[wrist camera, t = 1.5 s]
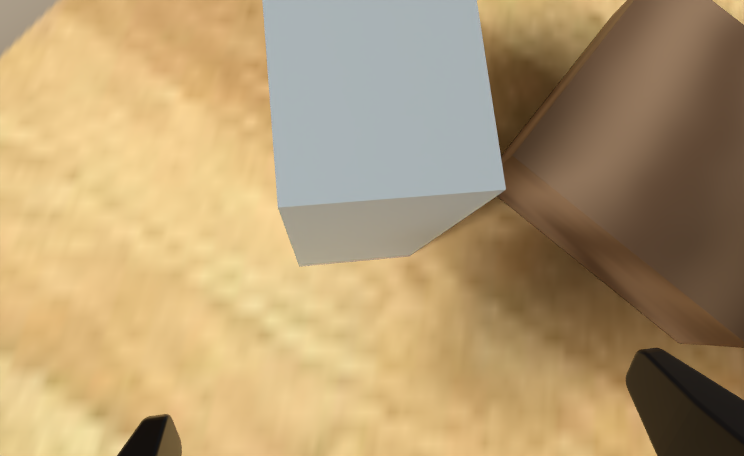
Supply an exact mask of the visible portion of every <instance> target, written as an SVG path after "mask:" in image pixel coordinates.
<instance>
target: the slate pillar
mask: <svg viewBox="0 0 744 456" xmlns="http://www.w3.org/2000/svg"><path fill="white" fill-rule="evenodd" d="M263 13H264V26H265V40H266V53H267V67H268V80H269V93H270V107H271V120H272V134H273V147H274V161H275V174H276V187H277V201H278V209H279V212H280V214H281V217H282V220H283V223H284V226H285V228H286V231H287V234H288V237H289V239H290V242H291V245H292V248H293V250H294V253H295V256H296V259H297V261H298V264H299V266H310V265H320V264H331V263H342V262H353V261H363V260H374V259H385V258H395V257H406V256H410V255H412V254H413V253H414V252H416V251H417V250H419V249H420V248H422V247H423V246H425V245H426V244H428V243H429V242H430V241H432V240H433V239H435V238H436V237H438V236H439V235H441V234H442V233H444V232H445V231H447V230H448V229H449V228H451V227H452V226H454V225H455V224H457V223H458V222H460V221H461V220H463V219H464V218H465V217H467V216H468V215H470V214H471V213H473V212H474V211H476V210H477V209H479V208H480V207H482V206H483V205H484V204H486V203H487V202H489V201H490V200H492V199H493V198H495V197H496V196H498V195H499V194H500V193H502V192H503V191H505V190H506V186H505V180H504V174H503V167H502V161H501V154H500V148H499V141H498V135H497V128H496V122H495V115H494V109H493V103H492V96H491V90H490V83H489V77H488V70H487V64H486V57H485V51H484V44H483V38H482V32H481V25H480V19H479V12H478V6H477V0H263Z"/></svg>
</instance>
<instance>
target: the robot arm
mask: <svg viewBox="0 0 744 456" xmlns="http://www.w3.org/2000/svg"><path fill="white" fill-rule="evenodd" d="M626 385H627V388H628V391H629V393H630V395H631V398H632V400H633V402H634V404H635V407H636V409H637V411H638V413H639V416H640V418H641V420H642V422H643V425H644V427H645V429H646V431H647V434H648V436H649V438H650V440H651V443H652V445H653V447H654V449H655V451H656V454H657V456H744V400H743V399H741V398H739V397H738V396H736V395H735V394H733V393H731V392H730V391H728V390H727V389H725V388H723V387H722V386H720V385H719V384H717V383H715V382H714V381H712V380H711V379H709V378H707V377H706V376H704V375H703V374H701V373H699V372H698V371H696V370H695V369H693V368H691V367H690V366H688V365H687V364H685V363H683V362H682V361H680V360H679V359H677V358H675V357H674V356H672V355H671V354H669V353H667V352H666V351H664V350H662V349H659V348H650V349H643V350H639V351H638V352H637V353H636V354H635V356H634V358H633V361H632V363H631V365H630V368H629V370H628V372H627V375H626ZM181 454H182V447H181V440H180V437H179V435H178V432H177V430H176V427H175V425H174V422H173V420H172V418H171V416H170V415H168V414H163V415H156V416H149V417H146V418H145V419H144V420H143V421H142V422H141V423H140V424H139V426H138V427H137V429H136V430H135V431H134V433H133V434H132V436H131V437H130V438H129V440H128V441H127V443H126V444H125V445H124V447H123V448H122V450H121V451H120V452H119V454H118V455H117V456H181Z"/></svg>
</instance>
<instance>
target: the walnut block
mask: <svg viewBox="0 0 744 456" xmlns="http://www.w3.org/2000/svg"><path fill="white" fill-rule="evenodd" d="M501 161H502V167H503V174H504V180H505V186H506V190H505V191H503V192H502V193H500V194H499V195H498V197H499V198H500V199H501V200H503V201H504V202H505V203H506V204H508V205H509V206H510V207H511V208H512V209H514V210H515V211H516V212H517V213H519V214H520V215H521V216H522V217H524V218H525V219H526V220H527V221H529V222H530V223H531V224H532V225H534V226H535V227H536V228H537V229H538V230H540V231H541V232H542V233H543V234H545V235H546V236H547V237H548V238H550V239H551V240H552V241H553V242H555V243H556V244H557V245H558V246H559V247H561V248H562V249H563V250H564V251H566V252H567V253H568V254H569V255H571V256H572V257H573V258H574V259H576V260H577V261H578V262H579V263H581V264H582V265H583V266H584V267H585V268H587V269H588V270H589V271H590V272H592V273H593V274H594V275H595V276H597V277H598V278H599V279H600V280H602V281H603V282H604V283H605V284H606V285H608V286H609V287H610V288H611V289H613V290H614V291H615V292H616V293H618V294H619V295H620V296H621V297H623V298H624V299H625V300H626V301H628V302H629V303H630V304H631V305H632V306H634V307H635V308H636V309H637V310H639V311H640V312H641V313H642V314H644V315H645V316H646V317H647V318H649V319H650V320H651V321H652V322H653V323H655V324H656V325H657V326H658V327H660V328H661V329H662V330H663V331H665V332H666V333H667V334H668V335H670V336H671V337H672V338H673V339H675V340H676V341H677V342H678V343H685V344H700V345H714V346H729V347H744V25H743V24H742V23H740V22H739V21H738V20H737V19H735V18H734V17H733V16H731V15H730V14H729V13H728V12H726V11H725V10H724V9H722V8H721V7H720V6H719V5H717V4H716V3H715V2H713V1H712V0H627V1H626V2H625V3H624V4H623V5H622V6H621V7H620V8H619V9H618V10H617V11H616V12H615V13H614V14H613V15H612V17H611V18H610V19H609V20H608V22H607V23H606V24H605V25H604V27H603V28H602V29H601V31H600V32H599V33H598V34H597V36H596V37H595V38H594V39H593V41H592V42H591V43H590V44H589V46H588V47H587V48H586V49H585V51H584V52H583V53H582V55H581V56H580V57H579V58H578V60H577V61H576V62H575V63H574V65H573V66H572V67H571V68H570V70H569V71H568V72H567V74H566V75H565V76H564V77H563V79H562V80H561V81H560V82H559V84H558V85H557V86H556V87H555V89H554V90H553V91H552V92H551V94H550V95H549V96H548V98H547V99H546V100H545V101H544V103H543V104H542V105H541V106H540V108H539V109H538V110H537V111H536V113H535V114H534V115H533V116H532V118H531V119H530V120H529V122H528V123H527V124H526V125H525V127H524V128H523V129H522V130H521V132H520V133H519V134H518V135H517V137H516V138H515V139H514V141H513V142H512V143H511V144H510V146H509V147H508V148H507V149H506V151H505V152H504V153H503V154H502V156H501Z"/></svg>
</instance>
